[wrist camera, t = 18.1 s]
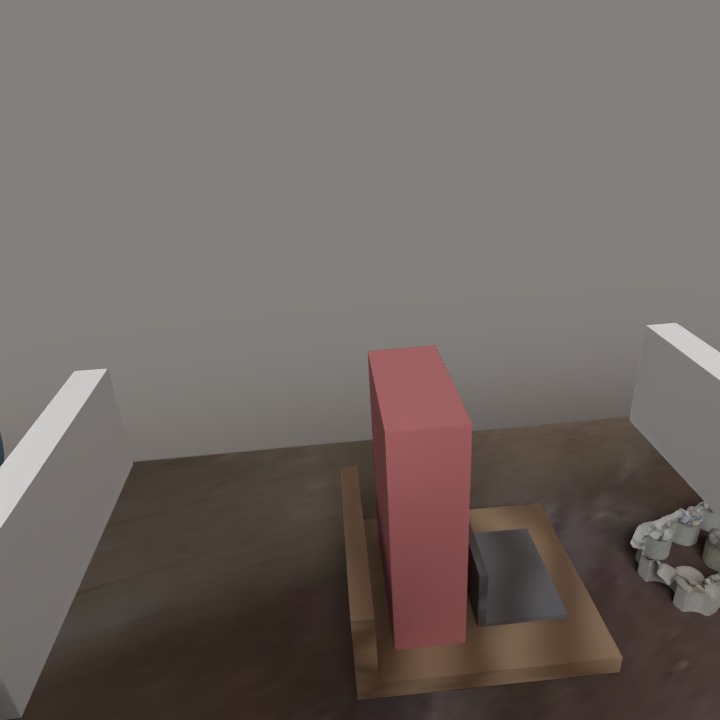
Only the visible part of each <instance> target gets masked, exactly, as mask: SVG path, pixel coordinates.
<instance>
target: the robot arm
mask: <svg viewBox="0 0 720 720" xmlns="http://www.w3.org/2000/svg"><path fill="white" fill-rule="evenodd" d="M629 420H630V421H631V422H632V423H633V425H634V426H635V427H636V428H637V429H638V430H639V431H640V432H641V433H642V434H643V435H644V436H645V437H646V439H647V440H648V441H649V442H650V443H651V444H652V445H653V446H654V447H655V448H656V449H657V450H658V451H659V453H660V454H661V455H662V456H663V457H664V458H665V459H666V460H667V461H668V462H669V463H670V464H671V466H672V467H673V468H674V469H675V470H676V471H677V472H678V473H679V474H680V475H681V476H682V477H683V478H684V480H685V481H686V482H687V483H688V484H689V485H690V486H691V487H692V488H693V489H694V490H695V491H696V493H697V494H698V495H699V496H700V497H701V498H702V499H703V500H704V501H705V502H706V503H707V504H708V505H709V507H710V508H711V509H712V510H713V511H714V512H715V513H716V514H717V515H718V516H719V517H720V352H718V351H717V350H715V349H714V348H712V347H711V346H709V345H708V344H706V343H704V342H703V341H702V340H700V339H699V338H698V337H696V336H694V335H693V334H691V333H690V332H689V331H687V330H686V329H684V328H683V327H681V326H680V325H678V324H677V323H670V324H658V325H646V330H645V335H644V341H643V347H642V352H641V358H640V363H639V369H638V375H637V380H636V385H635V391H634V397H633V402H632V407H631V413H630V419H629ZM132 466H133V461H132V457H131V453H130V449H129V446H128V442H127V439H126V435H125V431H124V427H123V424H122V420H121V416H120V413H119V409H118V405H117V402H116V398H115V394H114V390H113V387H112V383H111V379H110V376H109V372H108V369H97V370H85V371H74V373H73V374H72V375H71V376H70V378H69V379H68V380H67V382H66V383H65V384H64V386H63V387H62V388H61V389H60V391H59V392H58V393H57V395H56V396H55V397H54V398H53V400H52V401H51V402H50V404H49V405H48V406H47V407H46V409H45V410H44V412H43V413H42V414H41V415H40V417H39V418H38V419H37V420H36V422H35V423H34V424H33V425H32V427H31V428H30V429H29V431H28V432H27V433H26V435H25V436H24V437H23V439H22V440H21V441H20V442H19V444H18V445H17V446H16V447H15V449H14V450H13V451H12V453H11V454H10V455H9V457H8V458H7V459H6V460H5V462H4V450H3V443H2V438H1V434H0V720H3V719H12V718H21V717H22V714H23V712H24V710H25V708H26V705H27V703H28V701H29V699H30V696H31V694H32V692H33V690H34V687H35V685H36V683H37V681H38V678H39V676H40V674H41V671H42V669H43V667H44V665H45V662H46V660H47V658H48V656H49V653H50V651H51V649H52V647H53V644H54V642H55V640H56V638H57V635H58V633H59V631H60V629H61V626H62V624H63V622H64V619H65V617H66V615H67V613H68V610H69V608H70V606H71V604H72V601H73V599H74V597H75V595H76V592H77V590H78V588H79V586H80V583H81V581H82V579H83V576H84V574H85V572H86V570H87V567H88V565H89V563H90V561H91V558H92V556H93V554H94V552H95V549H96V547H97V545H98V543H99V540H100V538H101V536H102V534H103V531H104V529H105V527H106V524H107V522H108V520H109V518H110V515H111V513H112V511H113V509H114V506H115V504H116V502H117V500H118V497H119V495H120V493H121V491H122V488H123V486H124V484H125V482H126V479H127V477H128V475H129V472H130V470H131V468H132Z"/></svg>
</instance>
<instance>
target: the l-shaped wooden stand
mask: <svg viewBox="0 0 720 720" xmlns="http://www.w3.org/2000/svg"><path fill="white" fill-rule="evenodd" d="M340 477H341V491H342V506H343V520H344V534H345V549H346V563H347V577H348V592H349V606H350V620H351V632H352V643H353V654H354V665H355V676H356V687H357V698H358V700H364V699H373V698H382V697H392V696H401V695H411V694H420V693H429V692H439V691H448V690H457V689H467V688H476V687H486V686H495V685H504V684H514V683H523V682H533V681H542V680H551V679H561V678H570V677H579V676H589V675H598V674H608V673H617V672H620V668H621V663H622V658H623V657H622V655H621V653H620V651H619V650H618V648H617V646H616V644H615V642H614V640H613V638H612V637H611V635H610V633H609V631H608V629H607V627H606V625H605V623H604V622H603V620H602V618H601V616H600V614H599V612H598V610H597V609H596V607H595V605H594V603H593V601H592V599H591V597H590V595H589V594H588V592H587V590H586V588H585V586H584V584H583V582H582V581H581V579H580V577H579V575H578V573H577V571H576V569H575V567H574V566H573V564H572V562H571V560H570V558H569V556H568V554H567V553H566V551H565V549H564V547H563V545H562V543H561V541H560V539H559V538H558V536H557V534H556V532H555V530H554V528H553V526H552V525H551V523H550V521H549V519H548V517H547V515H546V513H545V511H544V510H543V508H542V506H541V504H540V503H534V504H523V505H512V506H502V507H491V508H481V509H470V512H469V544H468V577H467V609H466V642H464V643H454V644H445V645H435V646H426V647H417V648H407V649H398V650H395V648H394V641H393V634H392V627H391V621H390V614H389V607H388V600H387V594H386V587H385V580H384V573H383V567H382V560H381V553H380V546H379V540H378V523H377V518H374V519H364V520H363V512H362V503H361V495H360V486H359V477H358V469H357V466H346V467H340Z"/></svg>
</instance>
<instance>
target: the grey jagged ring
mask: <svg viewBox="0 0 720 720" xmlns="http://www.w3.org/2000/svg"><path fill="white" fill-rule="evenodd" d="M700 529H702V530H705V531H707V532H709V534H708V537H707V539H706V542H705V546H704V551H703V554H702V559H703V562H704V563H705V564H706V565H707V566H708V567H709V568H711V569H713V570H715V571H718V572H717V575H716V574H714V575H710V576H709V577H707V578H706V579H705V578H704V576H703V575H702V573H700V572H699V571H698V570H696V569H695V568H692V567H689V566H678V567H676V568H675V569H674V568H673V567H671V566H669V565H667V564H665V563H660V562H661V561H655V560H663V559H666V558H667V557H668V556H669V552H670V548H671V544H672V541H673V542H675V543H677V544H680V545H684V546H691V545H694V544H696V542H697V539H698V535H699V532H700ZM630 544H631V545H632V547H634V548H637V549H638V550H637V554H636V558H635V559H636V561H637V562H638V563H639V566H638V570H637V572H638V575H639V576H640V577H641V578H643V580H645V581H646V582H649V581H658V582H661V583H664V584H666V585H667V586H669V587H670V588H671V589H672V590H673V591H674V593H675V595H674V599H673V602H672V603H673V604H674V605H675V606H676V607H678V608H679V609H680V610H681V611H682V612H687V611H695V612H699V613H701V614H703V615H705V616H710V615H712V614H714V613H715V612H716V611H717V609H718V608H719V607H720V517H719V516H718V515H717V514H716V513H715V512H714V511H713V510H712V509H711V508H710V507H709V505H708V504H707V503H706V502H705V501H703V502H701V503H699V504H698V505H697V506H695V507H693V506H690V507H688V509H687V510H684V509H682V508H680V509H679V510H677V511H676V512H674V513H672V514H670V515H667V516H664V517H662V518H660V519H659V520H655V521H651V522H645V523H642V524H641V525H639V526H638V527H637V529H636V531H635V533H634V535H633V538H632V540H631V542H630ZM644 555H645V556H647V557H648V558H651V559H654V560H651V561H649V560H647V559H646V558H645V557H644Z"/></svg>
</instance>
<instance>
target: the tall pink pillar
mask: <svg viewBox="0 0 720 720" xmlns="http://www.w3.org/2000/svg"><path fill="white" fill-rule="evenodd" d="M368 363H369V381H370V399H371V415H372V416H371V417H372V434H373V452H374V470H375V488H376V505H377V523H378V540H379V546H380V553H381V560H382V567H383V573H384V580H385V587H386V594H387V600H388V607H389V614H390V621H391V627H392V634H393V641H394V648H395V650H398V649H407V648H417V647H426V646H435V645H445V644H454V643H464V642H466V609H467V577H468V544H469V512H470V480H471V447H472V423H471V421H470V419H469V416H468V414H467V412H466V410H465V408H464V406H463V404H462V401H461V399H460V397H459V395H458V393H457V391H456V389H455V387H454V384H453V382H452V380H451V378H450V376H449V374H448V372H447V370H446V367H445V365H444V363H443V361H442V359H441V357H440V355H439V352H438V350H437V348H436V346H435V345H434V346H422V347H412V348H411V347H410V348H398V349H387V350H375V351H368Z"/></svg>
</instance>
